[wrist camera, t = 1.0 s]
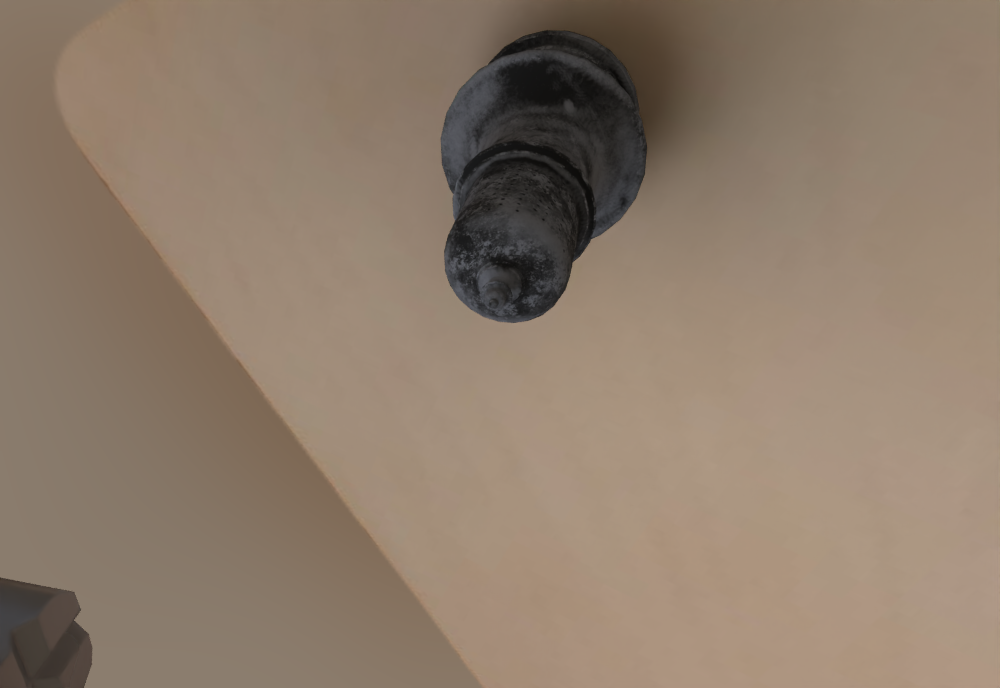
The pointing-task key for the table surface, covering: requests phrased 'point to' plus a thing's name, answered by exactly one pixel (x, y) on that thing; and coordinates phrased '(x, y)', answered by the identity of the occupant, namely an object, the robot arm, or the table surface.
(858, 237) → the table surface
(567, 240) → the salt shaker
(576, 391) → the table surface
